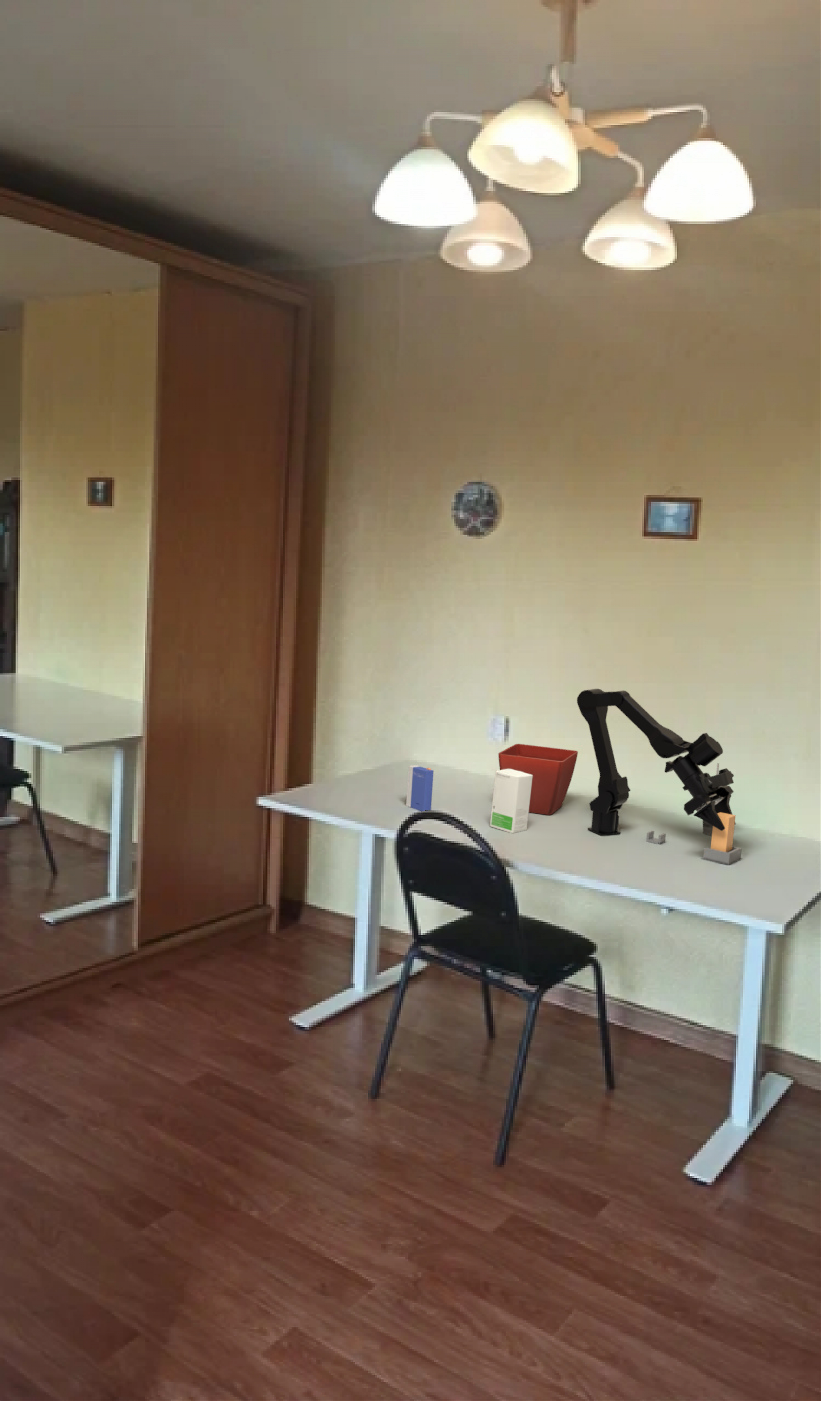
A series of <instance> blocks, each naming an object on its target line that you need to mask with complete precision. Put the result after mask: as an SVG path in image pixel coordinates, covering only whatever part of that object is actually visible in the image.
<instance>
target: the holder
mask: <svg viewBox="0 0 821 1401" xmlns="http://www.w3.org/2000/svg"><path fill="white" fill-rule="evenodd" d="M741 850H742V848H741V847H737V846H733V845H732V851H730V852H724V851H720V850H715V849H711V847H704V848H703V855H702V856H701V855H700V859H701V860H705V861H709V862H713V863H718V864H722V865H725V866H730V865H732V864H734V863H737V862H738V861H740V860H741V853H742V852H741Z"/></svg>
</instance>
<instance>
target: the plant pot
mask: <svg viewBox="0 0 821 1401" xmlns="http://www.w3.org/2000/svg"><path fill="white" fill-rule="evenodd" d="M578 753H579V751H578V750H572V749H564V748H557V747H550V746H549V747H548V746H541V745H540V746H539V745H532V744H524V743H516V744H513V745H512V746H509V747H507V748H506V749H504V750H502V751H500V752H498V755H497V756H498V764H499V770H504V769H513V770H517V771H521V772H524V773H527V774H531V775H533V777H532V786H531V794H530V804H529V812H528V813H531V814H532V813H533V814H540V815H548V816H551V815H552V814H554V813H555V812H557V811H558V810H559V809H560V808H562V806H563V803H564V801H565V799H566V796H567V794H568V790H569V788H570V784H571V781H572V778H573V775H574V771H575V767H576V764H577V763H576V762H577V758H578Z"/></svg>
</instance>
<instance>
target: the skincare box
mask: <svg viewBox="0 0 821 1401" xmlns="http://www.w3.org/2000/svg"><path fill="white" fill-rule="evenodd" d="M494 775H495V776H494V785H493V794H492V803H491V813H490V822H489V823H490V824H489V826H490V827H491V828H494V829H498V830H502V831H504V832H507V833H510V834H516V833H520V831H521V832H525V831H527V829H528V819H529V813H530V812H529V804H530V794H531V786H532V777H533V775H531V774H527V773H524V772H521V771H517V770H513V769H504V770H500V769H499V770H495V774H494ZM524 830H525V831H524Z"/></svg>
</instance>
